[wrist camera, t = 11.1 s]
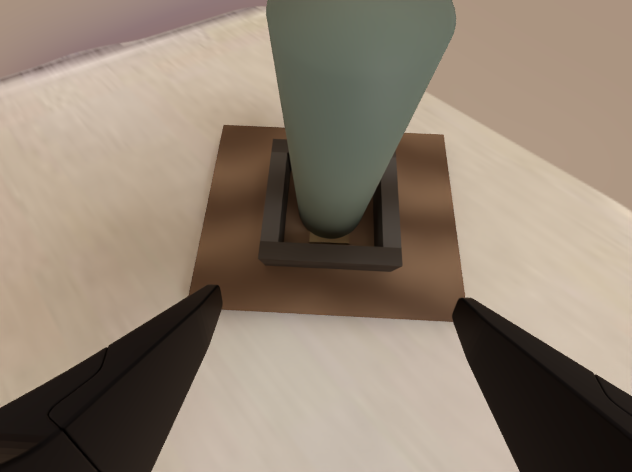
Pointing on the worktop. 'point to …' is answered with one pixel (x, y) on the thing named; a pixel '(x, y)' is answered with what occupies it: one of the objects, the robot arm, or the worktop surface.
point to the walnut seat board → (330, 254)
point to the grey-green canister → (350, 94)
